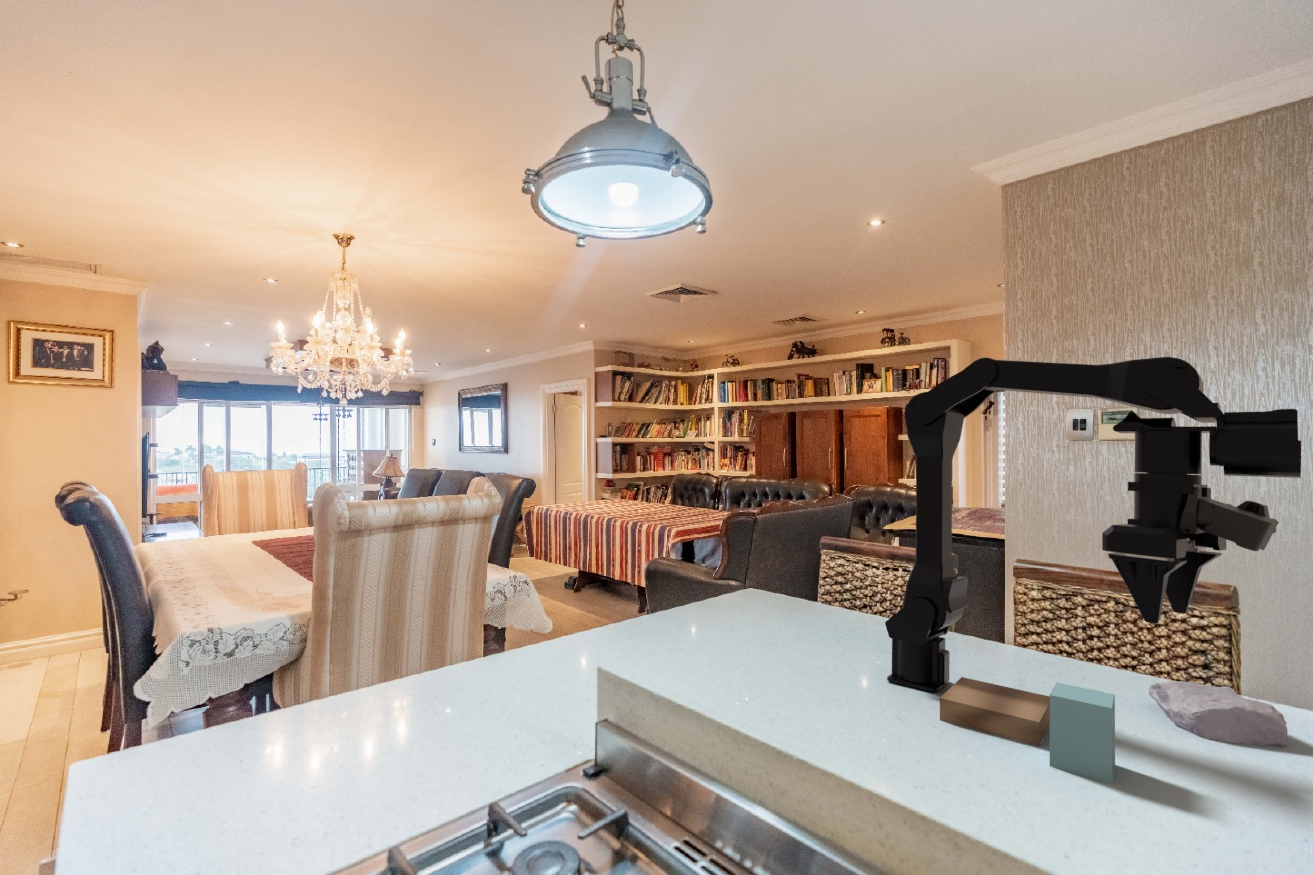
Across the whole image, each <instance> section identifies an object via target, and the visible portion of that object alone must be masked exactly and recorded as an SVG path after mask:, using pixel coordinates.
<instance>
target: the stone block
mask: <svg viewBox="0 0 1313 875" xmlns="http://www.w3.org/2000/svg"><path fill="white" fill-rule="evenodd" d="M1148 695H1149V696H1150V697H1151V698H1152V699H1153V700H1154V701H1155V703H1157V705H1158V706H1159V707H1160V709H1161V710H1162V711H1163V712H1164V713H1165V715H1166V717H1167V718H1168V719H1169V720H1170V721H1171V722H1172V723H1173V724H1174V726H1176V727H1177V728H1179V729H1182V730H1184V731H1186V732H1188V733H1191V734H1193V735H1195V736H1198V737H1200V738H1203V739H1208V740H1212V741H1213V740H1214V741H1220V742H1224V743H1231V744H1233V743H1234V744H1253V745H1258V746H1259V745H1262V746H1276V747H1286V746H1287V744H1288V731H1289V730H1288V727H1287V723H1288V722H1286V720H1285V716H1284V714H1283V713H1282V712H1281V711H1279V710H1277V709H1276V707H1274V705H1272V704H1270V703H1267V702H1263V701H1260V700H1257V699H1256V700H1255V699H1249V698H1244V697H1242V696H1241V695H1239V694H1238V693H1236V691H1235V690H1234V689H1233V688H1232V687H1230V686H1214V685H1210V684H1209V685H1208V684H1207V685H1206V684H1202V683H1201V684H1200V683H1195V682H1192V681H1183V680H1182V681H1181V680H1179V681H1175V680H1170V681H1165V682H1161V683H1160V682H1156V683H1154V684H1150V685H1149V687H1148Z"/></svg>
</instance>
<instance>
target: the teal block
mask: <svg viewBox="0 0 1313 875" xmlns="http://www.w3.org/2000/svg"><path fill="white" fill-rule="evenodd" d="M1049 696H1050V725H1049V767H1051V768H1055V769H1059V770H1063V771H1065V772H1069V773H1073V774H1076V775H1080V776H1084V777H1087V778H1091V779H1094V780H1098V781H1102V782H1106V783H1109V784H1112V783H1113V779H1114V773H1115V772H1114V771H1115V767H1116V709H1115V708H1116V695H1115V694H1113V693H1110V692H1104V691H1100V690H1095V689H1090V688H1086V687H1080V686H1076V685H1075V686H1074V685H1071V684H1066V683H1062V682H1061V683H1060V682H1056V683H1055V684H1054V686H1053V688H1052V690H1051V692H1050V694H1049Z"/></svg>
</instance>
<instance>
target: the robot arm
mask: <svg viewBox="0 0 1313 875" xmlns="http://www.w3.org/2000/svg"><path fill="white" fill-rule="evenodd" d="M1204 386H1205V385H1204V382H1203V380H1202V377H1201V374H1200V373H1199V372H1198V371H1197V369H1196V368H1195V367H1194V366H1193V365H1191V364H1190V362H1188V361H1187V360H1184V359H1182V358H1178V357H1171V356H1159V357H1151V358H1141V359H1140V358H1139V359H1129V360H1124V361H1118V362H1112V363H1105V364H1086V363H1085V364H1083V363H1062V362H1045V361H1025V360H1024V361H1023V360H1007V359H1005V360H1004V359H1002V360H1001V359H994V358H990V357H980V358H978V359H976V360H974V361H973V362H971V363H970V364H969V365H968V366H966V367H965V368H964V369H963V370H961V371H959V372H957V373H955V374H953V375H952V376H950V377H948V378H946V379H944V380H943V381H941V382H939V383H938V384H936V385H934V386H933V387H932V388H930V389H929V390H928V391H924V392H919V393H917V394H916V395H914V396H913V397H911V399H910V400H908V401H907V403H906V404H905V407H904V411H903V416H904V417H903V418H904V423H905V429H906V434H907V435H906V436H907V439H908V441H909V444H910V447H911V449H912V452H913V453H914V456H915V561H914V565H913V567H912V570H911V572H910V575H909V577H908V578H907V581H906V585H905V586H906V587H905V590H904V597H903V601H902V602H903V603H902V608H901V609H900V610H898V611H897V612H896V613H894V614H893V615H892V616H890V618H888V619H887V620H885V623H884V624H885V628H886V632H887V635H888V637H889V638H890V639H891V674H889V675H887V677H886V680H887V681H888V682H891V683H896V684H898V685H903V686H908V687H910V688H911V687H912V688H915V689H920V690H924V691H929V692H931V693H932V692H933V693H937V692H939V691H940V690H941V689H942V688H943V687H944V686H945V685H946V684H947V683H949V681H950V657H951V656H950V653H951V652H950V651H949V650H948V649H946V638H945V637H942V636H946V635H947V634H948V632H949V629H950V627H951V625H954V624H955V623H957V621H959V620H960V619H961V618H962V616H963V614H964V611H965V609H966V608H968V607H969V606H970V604H969V601H968V597H967V592H968V591H967V589H968V584H969V577H968V576H958V575H957V572H956V569H955V567H954V564H953V559H952V557H953V551H952V550H953V546H952V545H953V543H952V542H953V541H952V540H953V539H952V538H953V537H952V536H953V532H952V531H953V530H952V528H953V526H952V525H953V523H952V522H953V519H952V518H953V494H952V493H953V458H954V456H955V453H956V450H957V448H958V447H959V446H958V445H959V443H960V440H961V438H962V437H961V436H962V431H963V426H964V420H965V418H967V417H968V416H970V415H971V414H973V413H974V412H975V411H976V410H978V409H979V408H980V407H981V406H982V405H983V404H984V403H986V401H987V400H988V398H990V397H991V396H993V394H995V393H996V392H997V391H1004V392H1005V391H1007V392H1008V391H1009V392H1016V393H1017V392H1019V393H1029V394H1030V393H1032V394H1044V395H1056V396H1068V397H1081V398H1093V399H1094V398H1095V399H1101V400H1105V401H1108V402H1113V403H1116V404H1121V405H1125V406H1128V407H1133V408H1138V409H1141V410H1145V411H1150V412H1155V413H1158V414H1163V415H1177V414H1182V415H1185V416H1186V417H1188V418H1190V419H1192V420H1195V421H1196V422H1198V423H1201V424H1202V423H1203V424H1210V423H1213V424H1214V423H1215V424H1216V425H1215V426H1214V425H1213V426H1212V425H1211V426H1209V425H1208V426H1180V425H1179V426H1178V425H1177V424H1176V419H1175V418H1174V417H1141V416H1139V415H1138V413H1136V412H1134V411H1128V413H1127V415H1126V416H1125V417H1124V418H1123V419H1122V420H1120V421H1119V422H1118V423H1116V424H1115V425H1113V426H1112V430H1113V431H1114V432H1116V433H1118V434H1134V471H1133V472H1134V474H1133V475H1134V478H1133V479H1134V480H1133V481H1127V491H1129V492H1133V496H1134V497H1133V498H1134V499H1133V507H1134V508H1133V518H1132V517H1131V518H1127V523H1120V524H1119V523H1117V524H1112V525H1111V526H1109V527H1108V528H1106V529H1105V530H1103V532H1102V536H1101V538H1102V540H1101V541H1102V542H1101V544H1102V546H1101V550H1102V551H1104V552H1108V553H1107V556H1108V558H1109V559H1111V561H1112V562H1113V564H1114V566H1115V567H1116V570H1117V572H1119V574H1120V576H1121V578H1122V580H1123V582H1124V584H1125V585H1126V588H1127V589H1128V591H1129V593H1130V595H1131V597H1132V599H1133V600H1134V603H1135V604H1136V606H1137V609H1138V611H1139V612H1140V615H1141V617H1142V618H1143V620H1144V621H1145V623H1150V624H1153V625H1155V624H1156V625H1157V624H1159V622H1160V619H1161V614H1162V610H1163V608H1164V601H1165V595H1166V598H1167V600H1168V602H1169V604H1170V607H1171V609H1172V611H1173V612H1174V613H1176V614H1182V615H1183V614H1186V613H1187V612H1188V610H1189V607H1190V604H1191V600H1192V598H1193V595H1194V591H1195V589H1196V586H1197V582H1198V580H1199V578H1200V574H1201V572H1202V569H1203V568H1204V567H1205V566H1206V565H1208V564H1209V563H1210V562H1212V561H1215V559H1218V558H1220V557H1221V556H1222V555H1223V553H1221V552H1215V551H1225V550H1227V541H1229V542H1230V541H1231V542H1232V543H1235V545H1236V546H1238V547H1240V548H1244V549H1246V550H1248V551H1249V550H1250V551H1252V552H1259V551H1260V550H1263V551H1265V549H1266V547H1267V545H1268V544H1269V541H1270V540H1271V538H1272V536H1273V534H1276V532H1277V526H1278V525H1279V523H1280V522H1279V521H1278V520H1277V519H1275V518H1273V517H1272V518H1270V513H1269V506H1268V505H1266V504H1262V503H1259V502H1256V501H1253V500H1245V501H1244V502H1241V503H1240V504H1239V505H1237V506H1234V505H1233V504H1231V503H1225V502H1222V501H1218V500H1215V499H1212V490H1211V487H1208V484H1203V483H1202V481H1203V479H1202V478H1203V476H1202V474H1203V470H1202V469H1203V468H1202V466H1203V465H1202V464H1203V463H1202V462H1203V460H1202V459H1203V453H1202V452H1203V444H1202V443H1203V442H1202V441H1203V439H1202V438H1203V434H1209V436H1208V437H1209V440H1208V442H1209V443H1208V450H1209V452H1208V455H1209V465H1210V466H1213V467H1217V466H1219V467H1223V474H1224V476H1225V477H1227V476H1228V477H1230V476H1231V477H1259V478H1263V477H1264V478H1266V477H1267V478H1294V479H1296V478H1297V479H1301V478H1302V477H1301V476H1302V472H1301V471H1302V440H1299V423H1298V421H1299V420H1298V418H1299V416H1298V415H1299V414H1298V412H1299V411H1298V410H1297V409H1296V408H1281V409H1279V408H1278V409H1273V410H1267V411H1229V412H1228V411H1227V412H1226V411H1225V412H1223V411H1222V406H1221V405H1220V403H1219V402H1214V401H1212V400H1211V399H1210V398H1209V397H1208V396H1207V395H1205V394H1204V391H1205V390H1204V388H1205V387H1204ZM1206 548H1208V549H1209V548H1210V549H1212V550H1213V551H1206Z"/></svg>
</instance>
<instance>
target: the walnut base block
mask: <svg viewBox="0 0 1313 875" xmlns="http://www.w3.org/2000/svg"><path fill="white" fill-rule="evenodd" d="M939 721H941V722H945V723H950V724H953V725H956V726H959V727H960V726H961V727H965V728H968V729H972V730H974V731H979V732H982V733H987V734H989V735H990V734H991V735H994V736H997V737H1002V738H1006V739H1010V740H1014V741H1017V742H1021V743H1025V744H1028V745H1032V746H1036V747H1040V746H1041V744H1042V742H1043V740H1044V737H1045V735H1046V734H1047V731H1048V729H1049V728H1050V695H1044V694H1041V693H1040V694H1039V693H1036V692H1031V691H1027V690H1022V689H1017V688H1013V687H1009V686H1005V685H999V684H995V683H992V682H991V683H990V682H985V681H981V680H976V679H974V678H973V679H972V678H967V677H963V676H961V677H960V678H959V679H958V680H957V681H956V682H955V683H954V684H953V685H952V686H951V687H949V689H948V690H947V691H945V692H944V693H943V694H942V695H941V696H940V697H939Z"/></svg>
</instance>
